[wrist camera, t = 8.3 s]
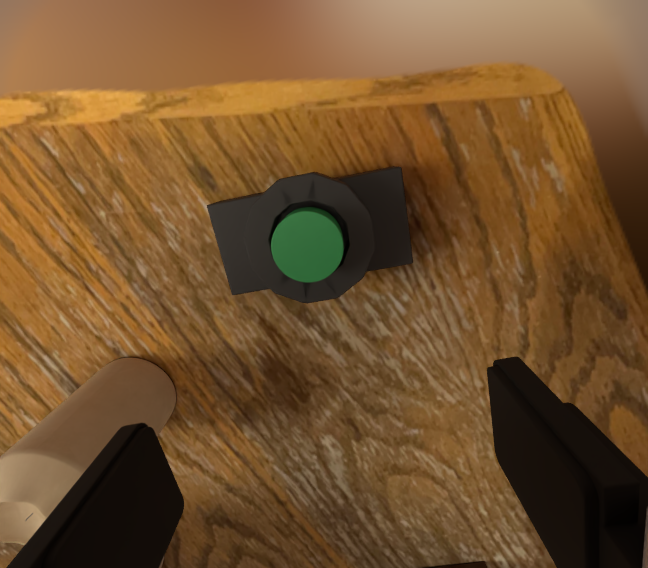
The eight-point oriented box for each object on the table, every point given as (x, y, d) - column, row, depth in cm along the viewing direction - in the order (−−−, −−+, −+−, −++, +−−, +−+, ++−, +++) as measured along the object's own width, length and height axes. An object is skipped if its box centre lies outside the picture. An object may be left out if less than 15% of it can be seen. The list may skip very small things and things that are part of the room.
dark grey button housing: (393, 155, 20) (407, 153, 16) (407, 262, 22) (422, 284, 18) (216, 191, 21) (189, 197, 17) (243, 292, 23) (225, 317, 19)
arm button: (336, 200, 17) (336, 204, 16) (348, 265, 18) (349, 275, 17) (270, 213, 18) (263, 219, 16) (285, 277, 18) (280, 288, 17)
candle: (101, 423, 26) (-33, 573, 16) (91, 353, 24) (-66, 475, 15) (180, 428, 26) (90, 582, 16) (174, 359, 24) (71, 485, 15)
